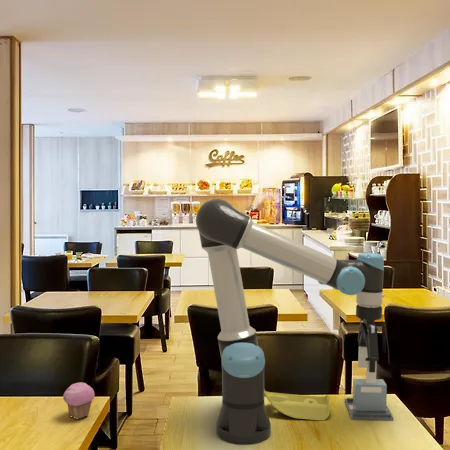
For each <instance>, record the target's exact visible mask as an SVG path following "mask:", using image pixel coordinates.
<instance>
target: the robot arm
mask: <svg viewBox="0 0 450 450" xmlns="http://www.w3.org/2000/svg"><path fill="white" fill-rule="evenodd" d="M195 225H196V229H197V230H198V235H199V240H200V244H201V249H203V250H204V251H205V252H206V253H207V255H208V256H207V257H208V261H209V267H210V273H211V278H212V285H213V289H214V291H213V292H214V296H215V301H216V306H217V312H218V313H217V314H218V319H219V325H220V330H221V331H220V332H219V334H218V336H217V340H218V341H217V342H218V347H219V353H220V359H221V384H222V385H221V390H222V391H221V397H222V401H221V402H222V403H221V407H220V411H219V413H218V417H217V420H216V425H215V426H216V427H215V430H216V431H215V432H216V435H217V437H218V438H219V439H221V440H224V441H225V442H228V443H233V444H240V445H249V444H251V445H252V444H256V443H259V442H263V441H264V440H267V439H268V438H269V437H270V436H271V434H272V433H271V432H272V425H271V421H270V418H269V417H270V416H269V415H268V411H267V408H266V404H265V396H264V390H265V365H266V358H265V353H264V351H263V348H261V347H260V346H259V343H258V337H257V331H256V329H255V328H253V327H252V326H251V325H250V319H249V315H248V309H247V303H246V297H245V291H244V285H243V279H242V273H241V267H240V262H239V255H238V251H237V250H239V249H244V250H247V251H249V252H252V253H253V254H255V255H258V256H261V257H263V258H265V259H267V260H270V261H271V262H274V263H277V264H278V265H281V266H283V267H285V268H288V269H289V270H292V271H295V272H297V273H300V274H302V275H304V276H306V277H308V278H311V279H313V280H315V281H317V282H318V284H319V285H325V286H328V287H331V288H333V289H335V290H337V291H340V293H342V294H344V295H347V296H356V297H355V298H356V299H355V302H356V304H357V305H356V306H355V308H356V309H355V316H356V318H358V319H359V321H360V322H359V329H358V334H357V335H358V336H357V342H358V359H357V367H358V368H363V369H365V371H366V372H365V374H366V375H365V379H366V383H376V379H377V366H378V365H377V363H378V362H379V360H380V358H379V343H378V325H376V323H375V321H379V320H381V319H382V317H383V306H382V305H383V298H385V294H383V290H384V275H385V274H384V272H385V269H384V268H385V264H384V263H385V262H384V256H383V255H382V254H380V253H375V252H360V253H359V254H358V255H357V259H337V258H335V257H332V256H330V255H328V254H326V253H323V252H321V251H318V250H316V249H315V248H313V247H309V246H308V245H305V244H303V243H301V242H298V241H296V240H294V239H292V238H290V237H287V236H285V235H283V234H280V233H278V232H276V231H274V230H272V229H269V228H267V227H264V226H262V225H260V224H258V223H256V222H254V221H253V219H252V217H250V216H249V215H246V214H245V213H242V212H241V211H239V210H237V209H236V208H235V207H233V205H232V204H231V203H230V202H229V201H226V200H224V199H221V198H216V199H215V198H212V199H209V200H207V201H204V202H203V204H201V206H199V209H198V211H197V213H196V216H195Z"/></svg>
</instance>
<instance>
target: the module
mask: <svg viewBox="0 0 450 450" xmlns="http://www.w3.org/2000/svg"><path fill="white" fill-rule="evenodd" d="M352 384H353V385H352V398H353V405H354V408H355V410H356V411H386V405H387V394H388V393H387V392H388V391H387V389H388V387H387V386H388V385H387V383H386V382H385V380H384V379H381V378H380V379H379V378H376V383H366V378H353V379H352Z"/></svg>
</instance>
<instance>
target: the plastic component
mask: <svg viewBox="0 0 450 450" xmlns="http://www.w3.org/2000/svg"><path fill="white" fill-rule="evenodd" d="M264 398H266V399H267V401H268V403H270V411H274V412H280V413H281V414H283V415H286V416H287V417H291V418H294V419H300V420H302V419H303V420H309V421H310V420H311V421H325V420H327V419H328V418H329V415H330V395H329V394H328V395H324V396H314V395H313V396H312V395H303V394H301V395H300V394H292V393H291V394H290V393H282V392H281V393H280V392H273V391H272V392H270V391H266V389H264Z"/></svg>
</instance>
